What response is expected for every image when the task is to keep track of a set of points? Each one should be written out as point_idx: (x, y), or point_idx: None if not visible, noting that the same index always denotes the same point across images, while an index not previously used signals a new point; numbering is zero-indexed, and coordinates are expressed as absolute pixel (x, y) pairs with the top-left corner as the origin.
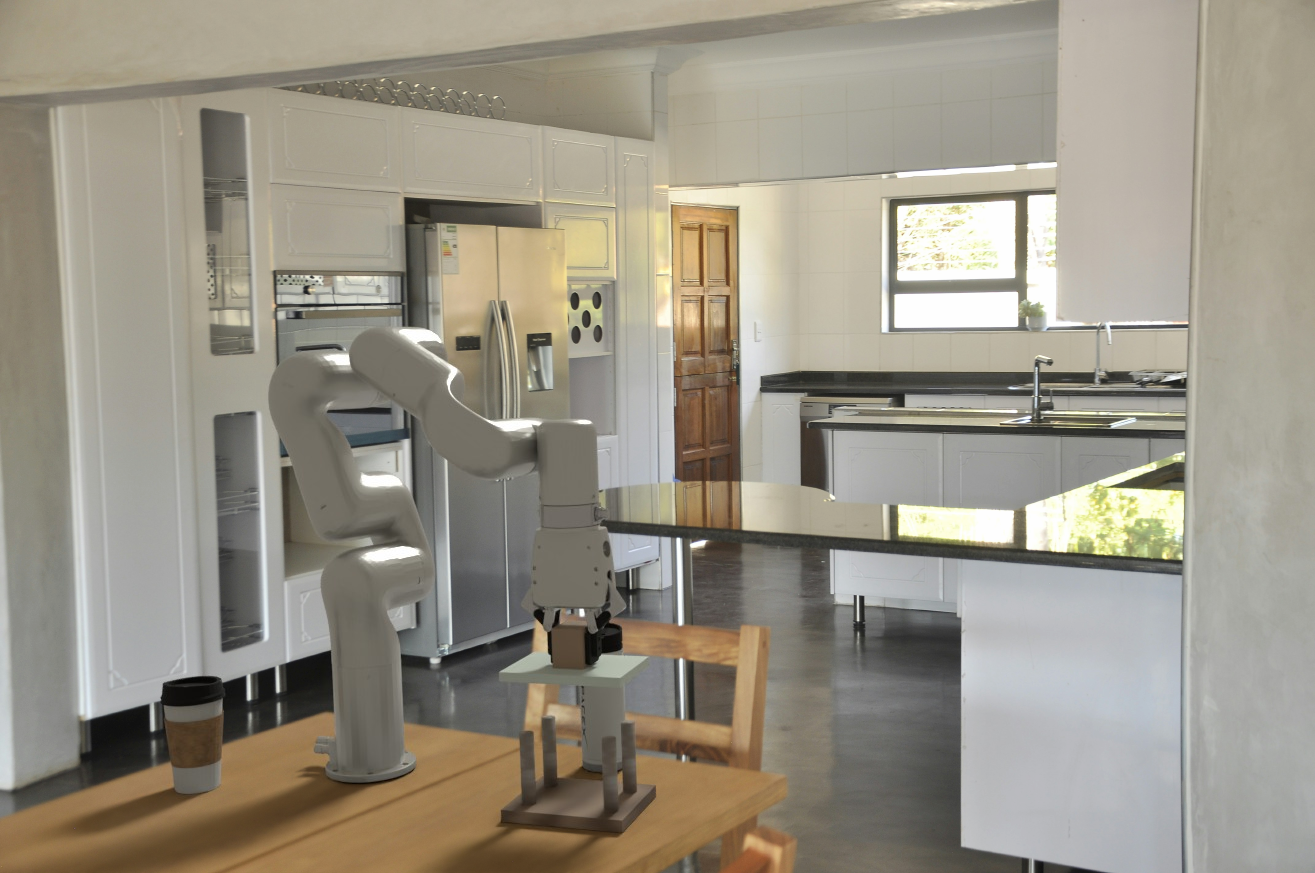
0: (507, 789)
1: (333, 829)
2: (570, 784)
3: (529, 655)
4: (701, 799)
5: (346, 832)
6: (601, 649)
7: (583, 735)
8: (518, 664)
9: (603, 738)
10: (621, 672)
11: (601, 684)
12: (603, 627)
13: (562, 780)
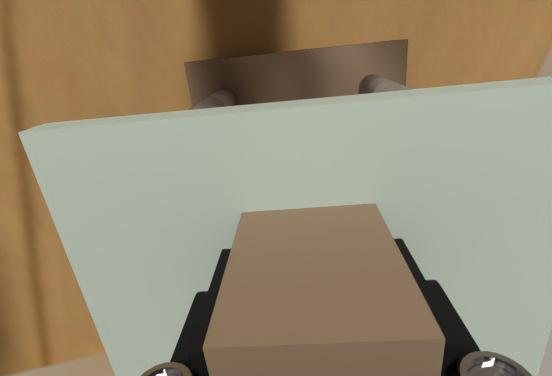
0: (142, 91)
1: (47, 285)
2: (255, 87)
3: (51, 198)
4: (487, 26)
5: (68, 288)
6: (441, 290)
7: None
8: (115, 318)
9: None
10: (526, 333)
11: None
12: (512, 364)
13: (231, 71)
